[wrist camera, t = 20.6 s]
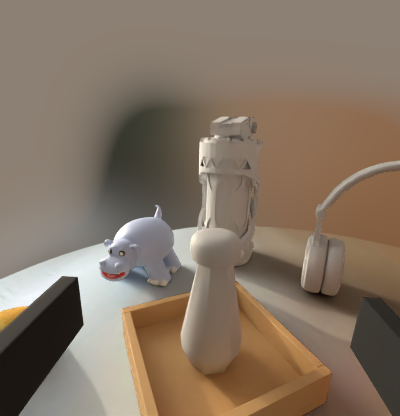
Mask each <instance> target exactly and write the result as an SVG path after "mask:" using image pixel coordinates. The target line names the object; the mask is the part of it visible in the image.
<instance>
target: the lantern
mask: <svg viewBox="0 0 400 416" xmlns="http://www.w3.org/2000/svg"><path fill="white" fill-rule="evenodd" d="M253 118H254V117H237V118H233V117H220V118H218V119H216V120H214V121H212V122H211V131H210V133H211V135H215V137H212V138H206V137H203V138H201V139H200V149H199V151H200V152H199V154H200V155H199V182H200V183H201V184H203V187H202V188H203V189H202V209H201V211H200V214H199V218H198V231H199V230H202V228H201V227H202V223H203V220H204V221H205V223H204V229H206V228H222V229H227V230H230V231H232V232H234V233H235V234H236V235H237V236H238V237H239V239H240V240H241V247H242V248H241V255H240V258H239V260H238V262H237V263H236V264H234V266H240V265H243V264H245V263H246V262H248V261H249V259H250V257H251V254H252V250H253V245H254V244H253V242H252V241H251V240H252V238H253V235H254V231H255V223H256V212H257V201H258V191H259V177H258V176H257V164H258V152H259V149H262V147H263V145H262V144H263V141H262V140H261V139H253V133H256V128H257V124H256V122H254V121H253ZM204 173H206V175H204ZM202 180H203V181H202ZM252 180H253V182H252ZM254 187H255V190H254V201H253V199H252V197H251V189H252V188H254ZM249 212H250V213H251V217H252V222H251V226H250V227H249V229H248V223H249ZM204 218H205V219H204Z"/></svg>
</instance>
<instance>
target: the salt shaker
mask: <svg viewBox="0 0 400 416" xmlns="http://www.w3.org/2000/svg"><path fill="white" fill-rule="evenodd" d="M241 248H242V247H241V240H240V239H239V237H238V236H237V235H236V234H235V233H234V232H232V231H230V230H227V229H222V228H206V229H202V230H199V231H198V232H197V233H195V234H194V235H193V237H192V238H191V243H190V249H191V255H192V259H193V260H194V261H195V262H196V263H198V265H197V269H196V273H195V277H194V281H193V285H192V289H191V294H190V298H189V302H188V306H187V310H186V314H185V318H184V322H183V326H182V330H181V345H182V349H183V351H184V353H185V354H186V356H187V358H188V360H189V362H190V363H191V364H192V365H193V366H194V367H196V368H197V369H198V370H199V371H200V372H201V373H203V374H204V375H209V374H218V373H224V372H225V370H226V369H227V367H228V366H229V364H230V363H231V362H232V360H233V359H234V358H235V357H236V356H237V355H238V354H239V351H240V346H241V341H242V334H241V325H240V316H239V307H238V298H237V289H236V281H235V272H234V264H236V263H237V262H238V260H239V258H240V255H241Z"/></svg>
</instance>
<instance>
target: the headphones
mask: <svg viewBox="0 0 400 416" xmlns="http://www.w3.org/2000/svg"><path fill="white" fill-rule="evenodd" d="M390 171H400V161H393V162H386V163H381V164H378V165H374V166H371V167H368V168H366V169H363V170H361V171H359V172H357V173H355V174H353V175H352V176H350V177H349V178H347V179H345V180H344V181H343V182H342V183H341V184H340V185H338V186H337V187H336V188H335V189H334V190H333V191H332V192H331V194H330V195H329V196H328V197H327V198H326V200H325V201H324V203H323V204H319V205H318V206H317V209H316V217H317V224H316V229H315V233H314V234H312V235H310V236H309V238H308V242H307V246H306V251H305V257H304V262H303V269H302V277H301V287H303V289H304V290H306V291H309V292H313V293H318V292H319V291H320V289H321V292H322V293H323V294H325V295H331V296H335V295H336V294H337V293H338V291H339V288H340V284H341V280H342V274H343V268H344V260H345V244H344V242H343V241H342V240H340V239H336V238H330V239H329V240H328V238H327V236H324V235H321V234H320V232H321V224H322V218H324V217H325V216H326V209H327V208H329V207H330V206H331V205H333V204H334V203H335V202H336V200H337V199H338V198H339V197H340V196H341V195H342V194H343V193H345V192H346V191H347V190H348V189H350V188H351V187H352V186H354V185H355V184H357V183H358V182H360V181H362V180H364V179H366V178H369V177H371V176H374V175H377V174H380V173H383V172H390Z"/></svg>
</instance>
